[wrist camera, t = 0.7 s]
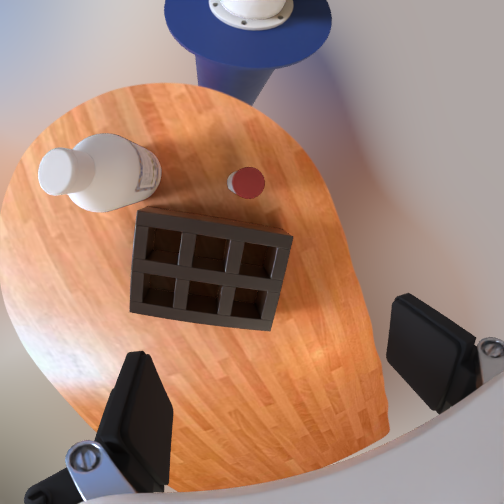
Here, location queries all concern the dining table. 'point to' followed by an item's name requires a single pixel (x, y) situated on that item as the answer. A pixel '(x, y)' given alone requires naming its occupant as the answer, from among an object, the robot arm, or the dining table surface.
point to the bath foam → (101, 172)
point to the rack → (207, 270)
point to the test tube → (246, 182)
